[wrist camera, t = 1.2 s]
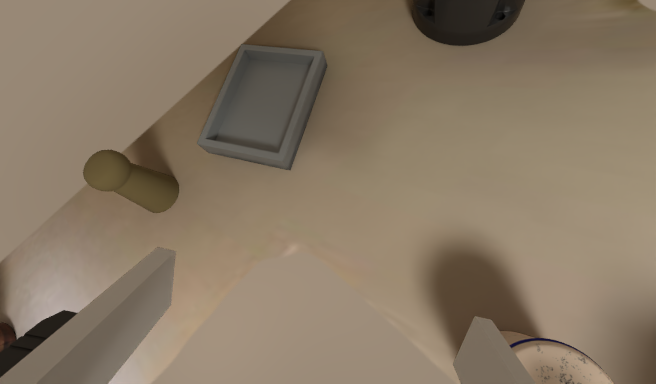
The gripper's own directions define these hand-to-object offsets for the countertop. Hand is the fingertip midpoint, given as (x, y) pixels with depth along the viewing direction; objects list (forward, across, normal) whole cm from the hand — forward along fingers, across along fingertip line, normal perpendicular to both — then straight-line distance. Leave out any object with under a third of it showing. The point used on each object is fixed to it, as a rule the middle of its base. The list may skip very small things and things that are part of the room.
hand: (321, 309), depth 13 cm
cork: (+33, -24, -11) cm, 42 cm away
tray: (+38, -11, +5) cm, 39 cm away
